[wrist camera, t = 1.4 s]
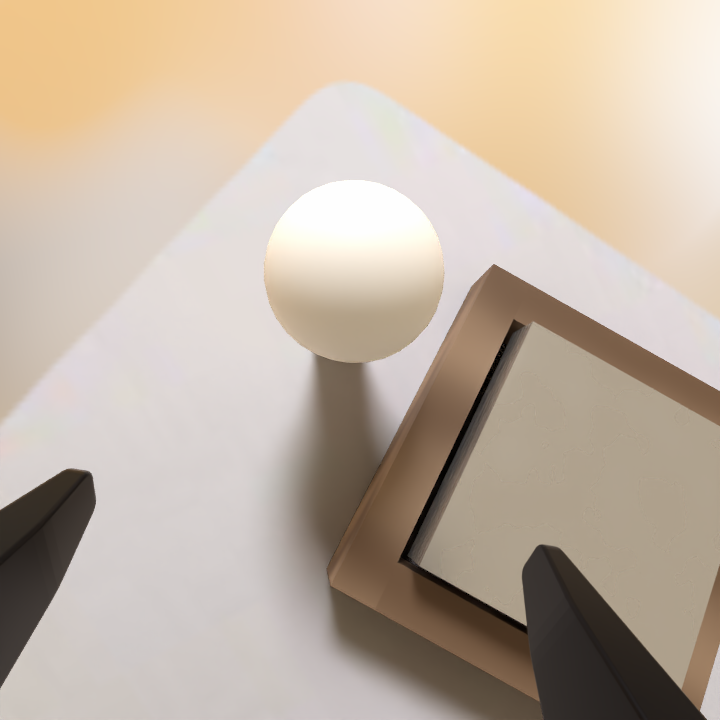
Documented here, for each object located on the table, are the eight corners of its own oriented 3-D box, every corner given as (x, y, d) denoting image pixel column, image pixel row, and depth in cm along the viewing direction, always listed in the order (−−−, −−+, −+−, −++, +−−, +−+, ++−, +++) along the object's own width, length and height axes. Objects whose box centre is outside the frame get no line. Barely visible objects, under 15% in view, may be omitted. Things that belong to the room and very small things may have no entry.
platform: (638, 684, 20) (675, 708, 18) (407, 555, 20) (419, 566, 18) (716, 447, 22) (755, 446, 20) (512, 332, 22) (533, 321, 20)
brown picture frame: (628, 736, 22) (679, 779, 19) (326, 568, 22) (330, 585, 19) (727, 430, 25) (783, 427, 22) (471, 286, 25) (493, 263, 22)
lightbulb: (372, 263, 25) (425, 117, 14) (413, 370, 24) (503, 300, 13) (260, 296, 24) (227, 164, 13) (298, 410, 23) (297, 368, 12)
